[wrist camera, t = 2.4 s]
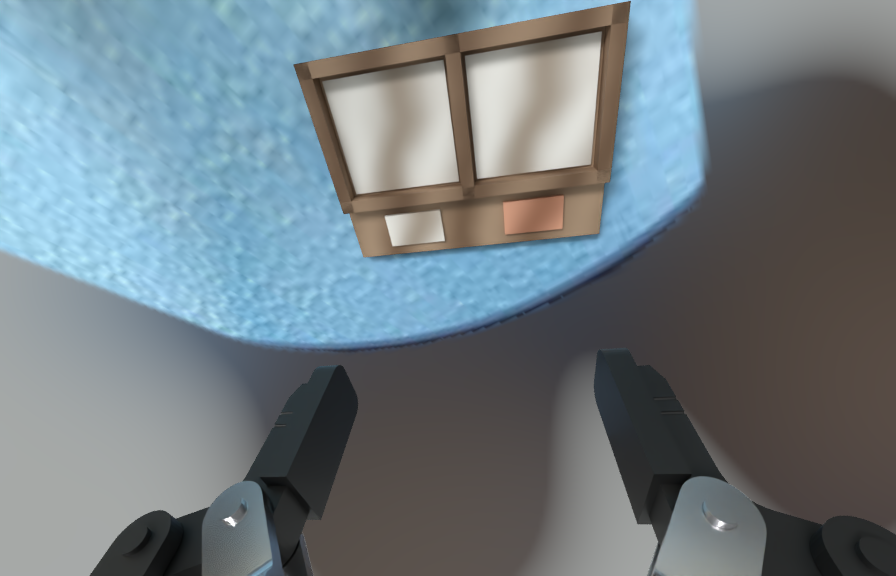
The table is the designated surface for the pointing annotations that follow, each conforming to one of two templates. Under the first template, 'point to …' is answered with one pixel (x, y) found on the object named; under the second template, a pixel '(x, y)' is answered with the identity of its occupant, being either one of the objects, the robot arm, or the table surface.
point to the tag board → (473, 132)
